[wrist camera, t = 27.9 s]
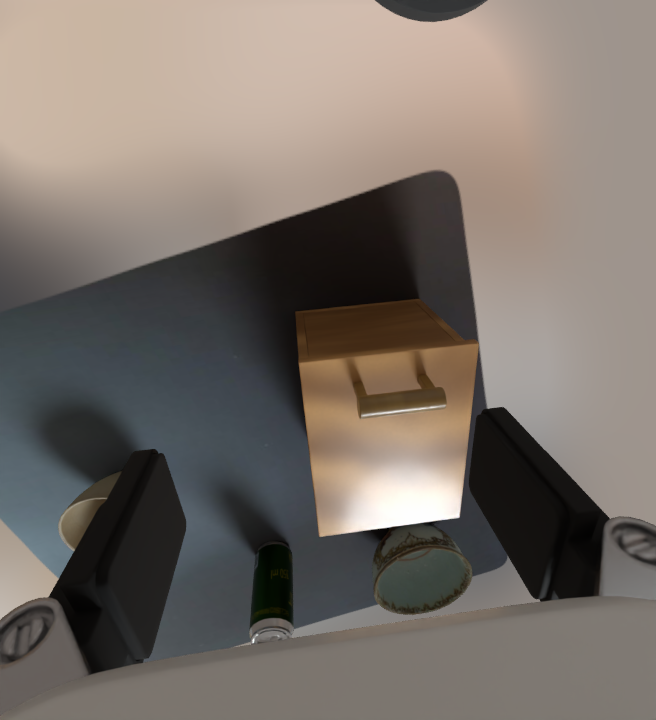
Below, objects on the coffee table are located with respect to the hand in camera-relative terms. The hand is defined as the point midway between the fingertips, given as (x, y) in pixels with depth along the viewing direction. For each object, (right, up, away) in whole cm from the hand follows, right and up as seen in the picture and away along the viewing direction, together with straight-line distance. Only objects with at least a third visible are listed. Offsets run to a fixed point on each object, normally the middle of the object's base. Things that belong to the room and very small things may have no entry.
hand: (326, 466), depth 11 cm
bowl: (+12, -23, +47) cm, 53 cm away
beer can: (-8, -25, +45) cm, 53 cm away
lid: (+5, -4, +22) cm, 23 cm away
